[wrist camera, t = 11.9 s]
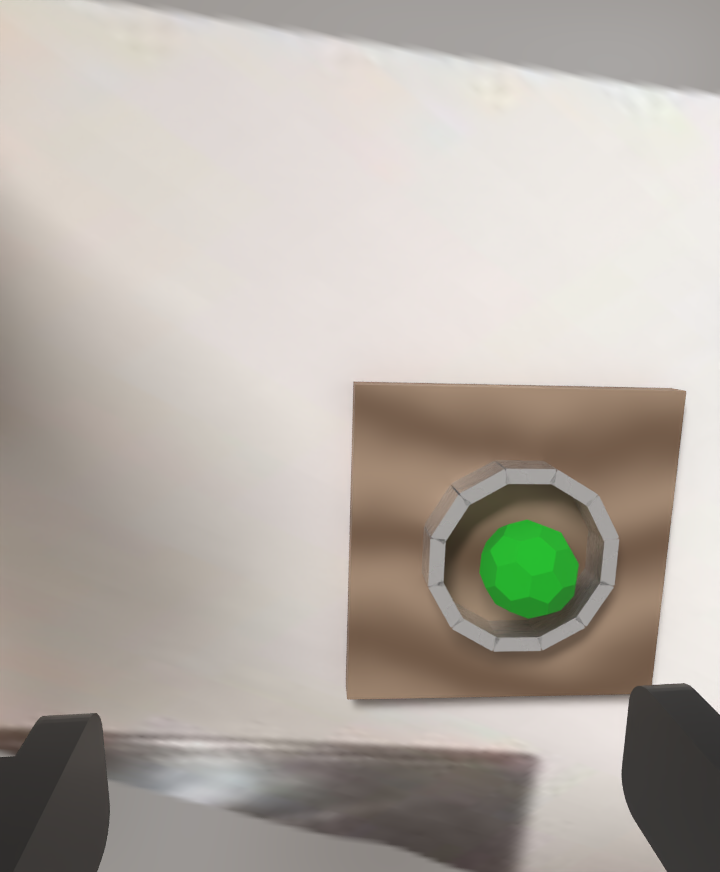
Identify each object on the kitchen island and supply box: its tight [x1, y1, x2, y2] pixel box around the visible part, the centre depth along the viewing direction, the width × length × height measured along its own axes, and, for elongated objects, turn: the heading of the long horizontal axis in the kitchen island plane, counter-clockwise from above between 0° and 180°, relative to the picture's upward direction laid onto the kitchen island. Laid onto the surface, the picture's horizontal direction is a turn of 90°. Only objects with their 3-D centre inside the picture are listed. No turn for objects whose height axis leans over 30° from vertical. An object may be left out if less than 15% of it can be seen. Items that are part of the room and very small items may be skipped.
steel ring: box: [422, 460, 619, 652], centre depth 35 cm, size 10×10×2 cm
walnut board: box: [346, 382, 686, 699], centre depth 36 cm, size 18×18×2 cm
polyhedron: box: [479, 520, 579, 619], centre depth 33 cm, size 5×5×5 cm
